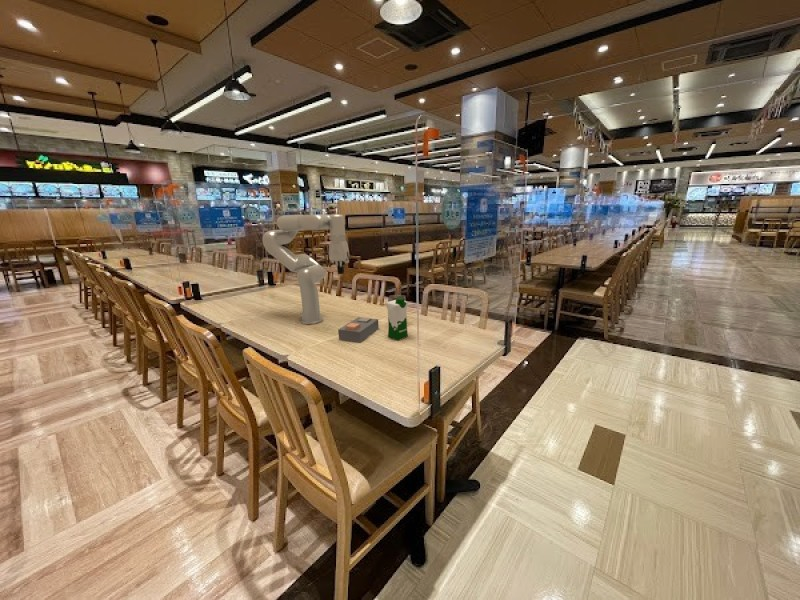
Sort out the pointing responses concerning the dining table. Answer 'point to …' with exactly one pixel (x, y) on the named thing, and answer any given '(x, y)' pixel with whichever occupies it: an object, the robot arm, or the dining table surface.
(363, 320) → the metal plunger
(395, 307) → the milk carton
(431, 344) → the dining table surface
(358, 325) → the terracotta plunger
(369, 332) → the button box
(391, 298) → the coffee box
